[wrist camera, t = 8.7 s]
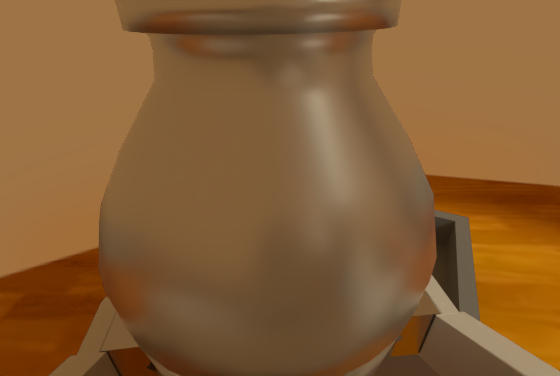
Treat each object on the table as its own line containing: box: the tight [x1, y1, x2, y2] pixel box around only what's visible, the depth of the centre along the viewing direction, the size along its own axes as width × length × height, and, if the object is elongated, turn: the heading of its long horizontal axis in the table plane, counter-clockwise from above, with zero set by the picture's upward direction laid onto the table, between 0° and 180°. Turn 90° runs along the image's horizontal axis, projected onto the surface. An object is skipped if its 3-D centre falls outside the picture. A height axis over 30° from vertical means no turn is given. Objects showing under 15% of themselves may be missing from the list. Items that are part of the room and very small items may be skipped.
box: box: [373, 210, 480, 376], centre depth 23 cm, size 14×14×4 cm
